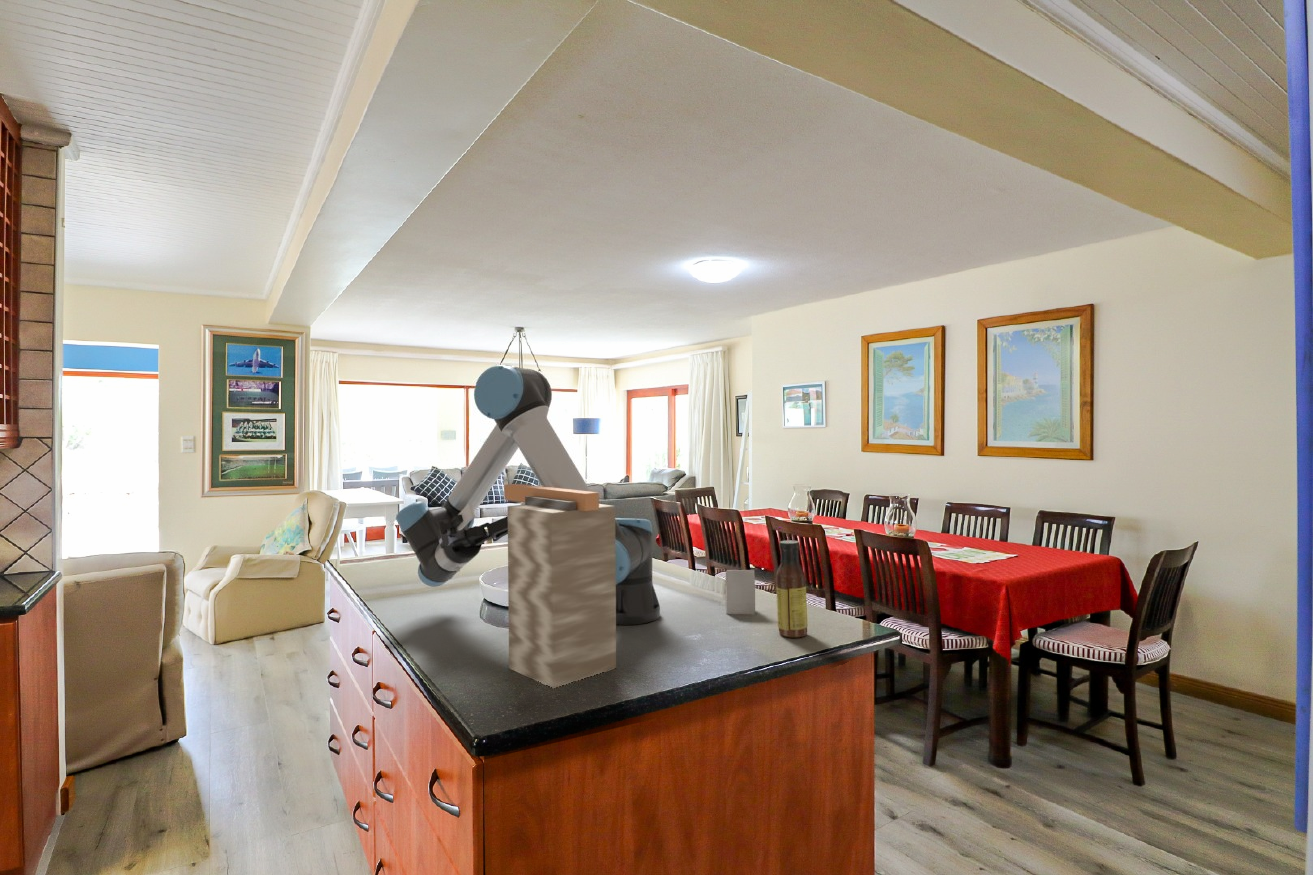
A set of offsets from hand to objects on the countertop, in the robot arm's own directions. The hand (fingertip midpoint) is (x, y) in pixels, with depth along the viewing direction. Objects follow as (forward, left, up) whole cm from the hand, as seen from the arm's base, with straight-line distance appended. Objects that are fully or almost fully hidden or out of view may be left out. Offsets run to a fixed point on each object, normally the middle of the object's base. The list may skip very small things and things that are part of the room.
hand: (501, 507), depth 141 cm
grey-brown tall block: (-5, +19, -28) cm, 34 cm away
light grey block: (-57, +4, -28) cm, 63 cm away
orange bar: (-4, +15, +2) cm, 16 cm away
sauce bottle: (-56, +24, -28) cm, 67 cm away
